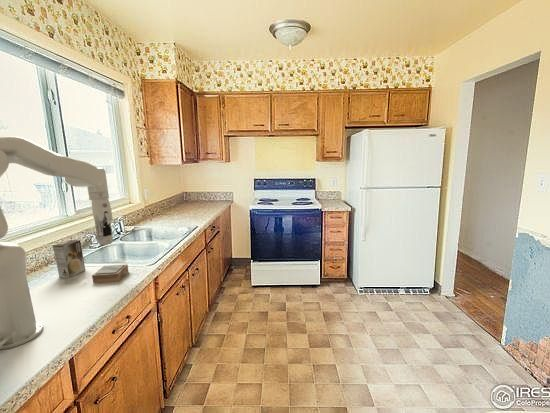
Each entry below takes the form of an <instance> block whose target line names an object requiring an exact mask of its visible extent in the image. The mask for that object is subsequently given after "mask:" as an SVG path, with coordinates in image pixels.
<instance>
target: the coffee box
mask: <svg viewBox="0 0 550 413" xmlns="http://www.w3.org/2000/svg"><path fill="white" fill-rule="evenodd" d="M52 247H53V252H54V258H55V263H56V268H57V273H58V277H59V278H67V279H69V278H71V277H74V276H76V275H78V274H81V273H82V272H85V271H86V266H85V260H84V254H83V250H82V243H81V239H79V240H78V239H73V240H72V239H69V240H66V241H64V242H59V243H58V244H54V245H53V246H52Z"/></svg>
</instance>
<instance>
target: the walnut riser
mask: <svg viewBox="0 0 550 413" xmlns="http://www.w3.org/2000/svg"><path fill="white" fill-rule="evenodd" d="M128 266H129V265H128V263H126V264H113V265H103V266H102V267H101V268H99V269H98V270H97V271H95V272H94V273H93V274H92V275H91V276H92V277H91V278H92V284H107V283H108V284H110V283H111V284H112V283H120V282H121V281H122V279H123V278H124V277H125V276H126V275H127V274H128V273H129V267H128Z"/></svg>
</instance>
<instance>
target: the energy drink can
mask: <svg viewBox="0 0 550 413" xmlns="http://www.w3.org/2000/svg"><path fill="white" fill-rule="evenodd" d="M93 220H94V226H95V231H96V232H95V233H96V238H97V243H98V244H99V246H106V245H107V246H108V245H111V244H112V243H113V241H114V237H113V236H114V235H113V229H112V227H111V233H112V235H109V236H103V229H102V228H103V225H102V222H101V221H99V218H98V216H97V215H96V214H95V215H94V217H93ZM104 220H106V219H103V221H104ZM104 224H105V222H104ZM110 225H111V226H112V223H111V222H110Z"/></svg>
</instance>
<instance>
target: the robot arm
mask: <svg viewBox="0 0 550 413" xmlns="http://www.w3.org/2000/svg"><path fill="white" fill-rule="evenodd" d="M9 164H17V165H19V166H22V167H25V168H27V169H31V170H33V171H36V172H38V173H41V174H43V175H47V176H51V177H58V178H64V180H65V182H66V183H67V185H69V186H72V187H76V188H80V187H81V188H82V187H83V188H84V187H87V192H88V198H89V199H88V200H89V201H91V211H92V217H93V218H94V215H95V214H96V215H97V216H98V218H99V221H101V222H102V225H103V228H102V229H103V236H109V235H112V236H113V232H112V233H111V228H112V224H111V225H110V222H111V221H112V220H113V219H114V218H113V212H112V208H111V203H110V200H109V198H110V195H109V189H108V188H109V186H108V180H107V173H106V170H105V168H104V167H97V166H95V165H93V164H91V163H89V162H86V161H83V160H80V159H76V158H72V157H69V156H65V155H61V154H59V153H56V152H54V151H52V150H50V149H48V148H46V147H43V146H42V145H40V144H37V143H35V142H34V141H31V140H29V139H26V138H24V137H19V136H0V178H1V177H2V176H3V175H4V174H5V173H6V171H7V170H8V168H9ZM103 219H106V220H104V221H103ZM104 222H105V224H104ZM8 231H9V224H8V222H7V219H6V216H5V214H4V212H3V209H2V207H1V205H0V239H2V238H4V237H5V236H6V235H7V234H8ZM27 277H28V276H27V252H26V251H25V249H24V248H23V247H22V246H20V245H19V244H17V243H12V242H4V241H1V242H0V350H6V349H12V348H16V347H17V346H21V345H24V344H25V343H28V342H30V341H31V340H34V338H36V337H38V336H39V335H40V334H41V333H42V332H43V331H44V325H43V323H42V322H40V321H37V320H36V316H35V311H34V306H33V302H32V298H31V293H30V292H31V291H30V288H29V283H28V282H29V281H28V278H27Z"/></svg>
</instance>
